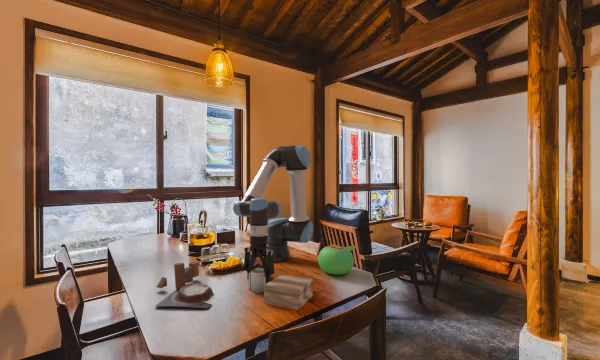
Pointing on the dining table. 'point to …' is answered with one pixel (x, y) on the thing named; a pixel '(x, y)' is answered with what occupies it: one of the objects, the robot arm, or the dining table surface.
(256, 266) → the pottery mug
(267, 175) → the robot arm
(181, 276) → the wooden block set
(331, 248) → the round green toy
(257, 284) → the celadon tea cup
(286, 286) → the beech tea box
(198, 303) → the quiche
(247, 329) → the dining table surface
